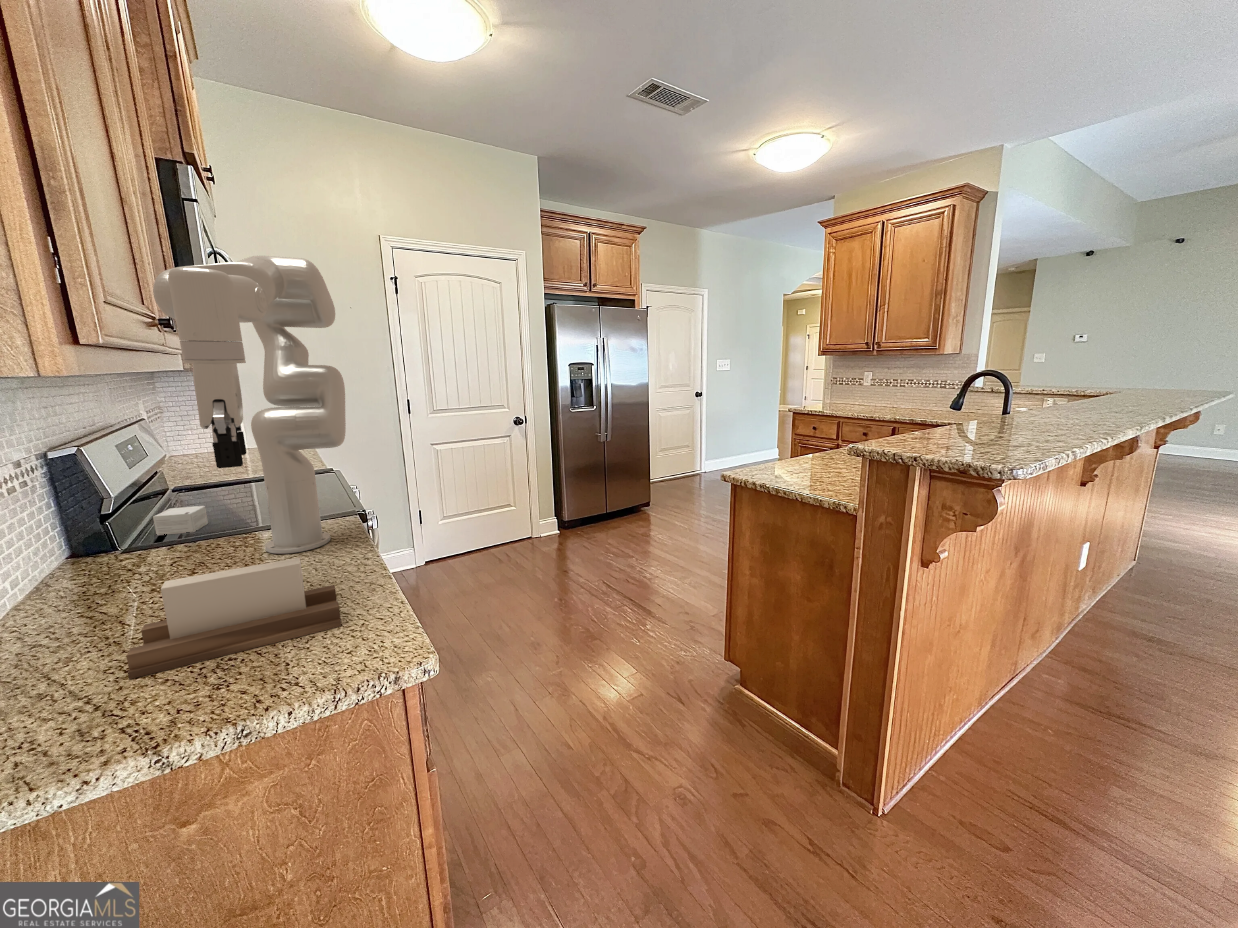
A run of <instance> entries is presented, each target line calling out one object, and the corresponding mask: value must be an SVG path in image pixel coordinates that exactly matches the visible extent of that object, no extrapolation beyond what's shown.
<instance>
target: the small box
mask: <svg viewBox="0 0 1238 928" xmlns="http://www.w3.org/2000/svg"><path fill="white" fill-rule="evenodd" d="M152 519H153V524H154V530H155V535H156V534H157V535H156V536H165V535H166V534H167V535H176V534H187V533H186V532H190V533H195V532H196V530H197V531H199V530H200V529H201V528H203V527H205V526H206V525H207V524H209V522H208V521H209V520H208V516H207V509H206V506H205V505H195V506H184V507H171V508H168V509H166V510H164V511H162V512H160V513H158V514H156V515H153V516H152ZM164 534H165V535H164Z"/></svg>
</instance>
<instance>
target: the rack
mask: <svg viewBox="0 0 1238 928" xmlns="http://www.w3.org/2000/svg"><path fill="white" fill-rule="evenodd" d="M335 586H336V585H335V584H330V585H326V586H322V587H316V588H313V589H307V590H304V593H305V600H306V608H307V609H302V610H298V611H293V612H289V613H285V614H280V615H276V616H271V617H267V618H263V619H258V620H254V621H249V622H245V623H241V624H236V625H232V626H227V627H223V628H218V629H214V630H210V631H205V632H201V633H196V634H192V635H188V636H183V637H179V638H174V639H170V635H169V630H168V625H167V619H164V620H159V621H155V622H149V623H146V624H145V623H144V625H143V627H142V628H141V630H140V632H141V637H142V643H143V644H142V645H139V646H136V647H132V648H131V647H130V648H129V650H128V652H127V653H126V660H127V664H128V671H127V675H128V680H133V679H137V678H141V677H143V676H144V677H145V676H149V675H151V674H152V675H153V674H156V673H160V672H164V671H169V670H172V669H176V668H179V667H185V666H187V665H188V666H189V665H192V664H196V663H199V662H203V661H208V660H212V659H215V658H220V657H223V656H227V655H232V654H236V653H239V652H243V651H248V650H251V649H255V648H259V647H263V646H267V645H271V644H275V643H279V642H280V643H281V642H283V641H287V640H291V639H296V638H299V637H304V636H307V635H311V634H315V633H318V632H319V633H320V632H323V631H328V630H331V629H337V628H340V627H342V622H341V621H342V619H341V615H340V614H341V613H340V606H339V602H338V600H337V593H336V587H335Z"/></svg>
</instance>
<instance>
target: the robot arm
mask: <svg viewBox="0 0 1238 928" xmlns="http://www.w3.org/2000/svg"><path fill="white" fill-rule="evenodd" d="M152 292H153V293H152V294H153V295H152V296H153V299H154V301H155V304H156V305H157V307H158V308H159V309H160V311H161V312H162V313H164V314H165V315H166V316H168V317H169V318H171V319H172V320H173V319H174V320H175V323H176V324H175V325H176V328H177V333H178V340H179V346H180V351H181V355H182V359H183V360H182V361H183V364H192V375H193V384H194V391H195V398H196V405H197V412H198V419H199V425H200V426H199V427H200V428H202V429H203V430H208V428H210V426H211V433H212V434H211V435H212V448H213V454H214V460H215V465H216V467H217V469H226V468H227V469H229V468H239V467H242V466H243V465H244V461H243V456H246V454H247V447H246V441H245V434H244V431H242V423H243V421H244V409H243V408H244V407H243V397H242V389H241V382H240V375H239V370H238V364H246V356H245V349H244V341H243V337H242V336H243V335H242V330H241V325H240V323H247V324H248V323H252V325H253V328H254V329H255V332H256V334H257V335H258V339H260V341H261V344H262V346H263V349H264V362H263V363H264V365H263V378H262V379H263V381H262V390H263V391H262V392H263V395H264V398H265V400H266V401H267V402H268V403H270V404H271V405H273V406H274V407H267V408H264V409H261V410H258V411H257V412H256V413H255V414H254V415H253V416H252V419H251V420H250V427H251V433H252V436H253V440H254V441H255V445H256V448H257V451H258V454H259V456H260V462H261V468H262V474H263V479H264V480H263V481H264V486H265V487H264V488H265V495H266V501H267V509H268V514H269V515H268V516H269V522H270V528H271V537H272V539H271V540H269V541H268V542H266V543H265V545H264V548H265V551H266V552H267V553H270V554H279V555H282V554H285V555H286V554H295V553H301V552H306V551H310V550H314V549H316V548H319V547H322V546H324V545H326V544H328V543H329V542H330V541H331V533H329V532H326V531H323V530H322V529H323V528H322V520H321V513H320V504H319V495H318V494H319V493H318V486H317V480H316V470H315V468H314V466H313V464H312V463H311V461H310V460H309V459H308V458H307V456H305V455H304V454H303V453H302V452H301V451H303V450H315V449H316V450H318V449H319V450H321V449H333V448H339V446H341V445H342V444H343V443H344V442H345V439H346V429H347V428H346V424H347V423H346V388H345V382H344V378H343V376H342V373H341V371H339V370H338V369H337V368H336V367H334V366H332V365H325V364H309V356H310V355H309V354H310V353H309V349H308V347H306V346H305V344H304V343H303V342H302V341H301V340H300V339H299V338H298V337H297V336H295V335H294V334H293V333H291V331H288V330H287V328H304V329H305V328H307V329H309V328H311V329H312V328H313V329H325V328H329V327H332V325H333V324H334V323H335V320H336V308H335V304H334V301H333V299H332V296H331V294H330V290H329V289H328V287H327V284H326V282H325V279H324V277H323V275H322V274H321V272H320V270H319V269H318V267H317V266H316V265H315V264H314V263H313V262H312V261H311V260H309V259H306V258H302V257H301V258H300V257H290V256H289V257H288V256H274V255H253V256H249V257H246V258H244V259H240V260H237V261H229V262H228V261H227V262H219V263H212V264H211V263H209V264H198V265H197V264H196V265H185V266H177V267H173V268H168V269H166V270H163V271H162V272H160V273H159V274H158V275H157V276H156V277H155V279H154V283H153V286H152ZM275 406H276V407H275Z"/></svg>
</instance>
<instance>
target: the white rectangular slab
mask: <svg viewBox="0 0 1238 928" xmlns="http://www.w3.org/2000/svg"><path fill="white" fill-rule="evenodd" d="M304 591H305V586H304V579H303V571H302V564H301V557H295V558H293V557H292V558H288V559H283V560H277V561H271V562H266V563H260V564H256V565H255V564H254V565H250V566H245V567H244V566H243V567H237V568H233V569H231V568H230V569H227V570H222V571H215V572H210V573H203V574H197V575H194V576H193V575H192V576H188V577H187V576H186V577H182V578H176V579H170V580H165V581H164V583H163V584H162V586H161V588H160V594H161V597H162V604H163V609H164V614H165V618H166V619H165V620H167V625H168V630H169V635H170V639H174V638H179V637H183V636H188V635H192V634H196V633H201V632H205V631H210V630H214V629H218V628H223V627H227V626H232V625H236V624H241V623H245V622H249V621H254V620H258V619H263V618H267V617H271V616H276V615H280V614H285V613H289V612H293V611H298V610H302V609H307V608H306V600H305V593H304Z"/></svg>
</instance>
